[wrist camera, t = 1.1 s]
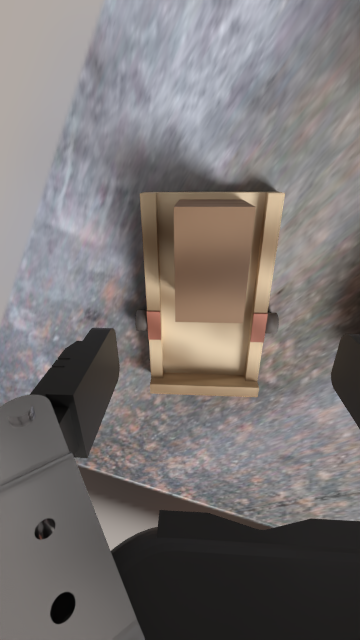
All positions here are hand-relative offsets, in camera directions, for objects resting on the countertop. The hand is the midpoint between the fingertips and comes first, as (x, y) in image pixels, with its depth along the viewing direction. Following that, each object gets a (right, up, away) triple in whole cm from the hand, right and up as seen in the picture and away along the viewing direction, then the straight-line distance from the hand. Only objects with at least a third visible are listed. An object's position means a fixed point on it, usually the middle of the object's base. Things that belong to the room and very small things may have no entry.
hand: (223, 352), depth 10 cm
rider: (+1, +7, +14) cm, 16 cm away
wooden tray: (+1, +3, +18) cm, 18 cm away
